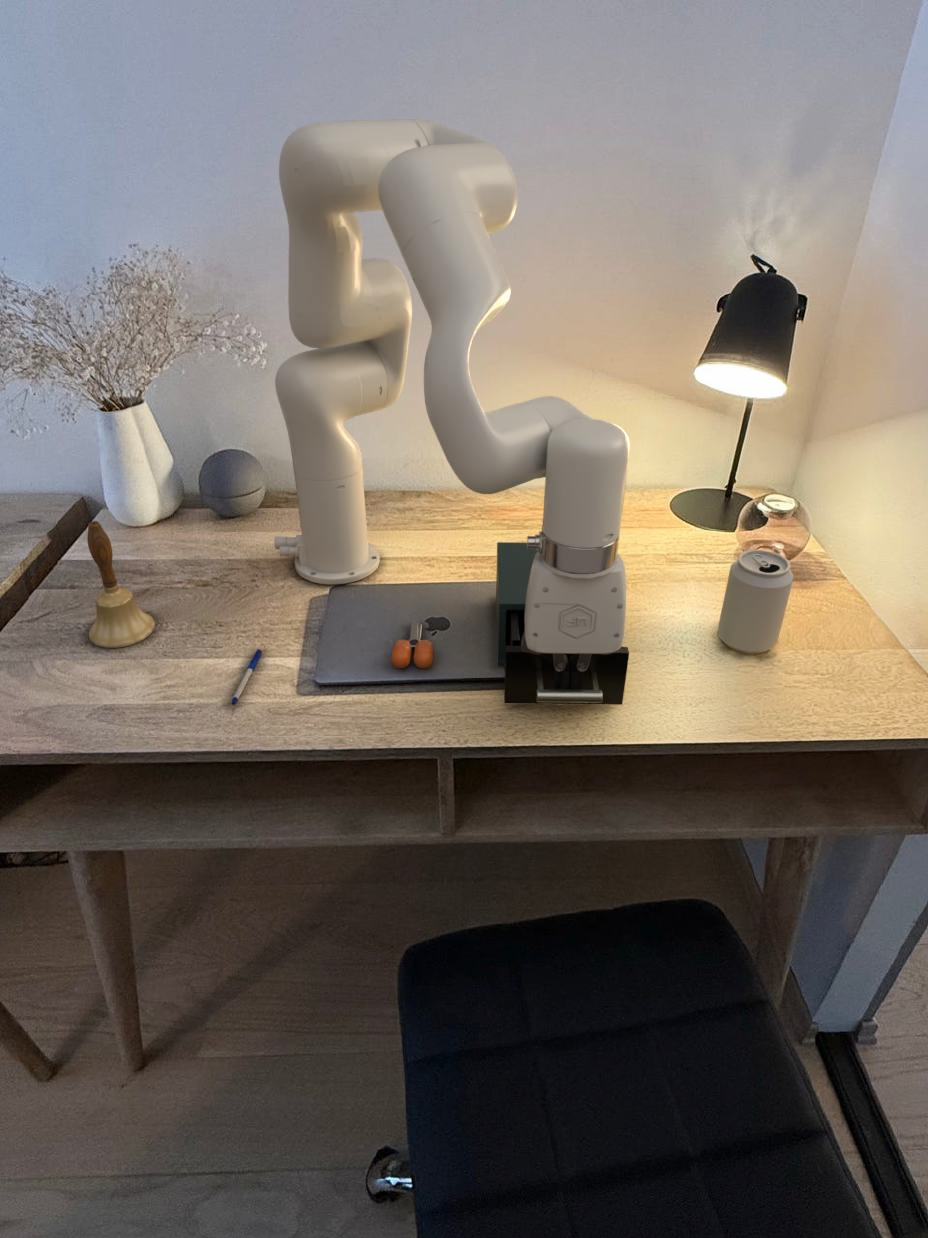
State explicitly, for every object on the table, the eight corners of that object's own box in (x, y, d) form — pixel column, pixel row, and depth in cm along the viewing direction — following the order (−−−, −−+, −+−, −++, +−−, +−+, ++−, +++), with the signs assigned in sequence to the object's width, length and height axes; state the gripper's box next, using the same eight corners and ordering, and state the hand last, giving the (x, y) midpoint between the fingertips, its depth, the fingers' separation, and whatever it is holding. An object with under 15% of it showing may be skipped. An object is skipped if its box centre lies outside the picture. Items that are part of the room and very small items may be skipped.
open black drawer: (628, 733, 91) (636, 680, 87) (505, 732, 91) (506, 679, 87) (606, 635, 107) (612, 586, 102) (501, 634, 107) (503, 585, 103)
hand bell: (168, 619, 111) (142, 512, 103) (128, 653, 105) (97, 542, 96) (117, 608, 114) (87, 503, 105) (75, 641, 107) (40, 532, 98)
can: (744, 663, 103) (764, 581, 96) (704, 633, 108) (719, 553, 102) (788, 647, 106) (810, 566, 99) (747, 619, 111) (765, 540, 105)
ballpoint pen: (255, 653, 105) (254, 646, 104) (262, 653, 105) (261, 647, 104) (231, 705, 96) (229, 699, 96) (238, 706, 96) (237, 699, 96)
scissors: (432, 672, 101) (432, 656, 100) (390, 672, 102) (389, 656, 100) (436, 629, 109) (435, 614, 108) (397, 628, 109) (396, 613, 108)
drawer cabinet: (616, 667, 102) (624, 604, 97) (497, 666, 102) (499, 603, 97) (601, 601, 115) (608, 542, 110) (495, 600, 115) (497, 541, 110)
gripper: (504, 565, 78) (500, 714, 88) (662, 566, 78) (639, 715, 88) (502, 529, 85) (498, 671, 95) (648, 530, 84) (629, 672, 95)
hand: (567, 692), depth 91 cm, fingers closed
